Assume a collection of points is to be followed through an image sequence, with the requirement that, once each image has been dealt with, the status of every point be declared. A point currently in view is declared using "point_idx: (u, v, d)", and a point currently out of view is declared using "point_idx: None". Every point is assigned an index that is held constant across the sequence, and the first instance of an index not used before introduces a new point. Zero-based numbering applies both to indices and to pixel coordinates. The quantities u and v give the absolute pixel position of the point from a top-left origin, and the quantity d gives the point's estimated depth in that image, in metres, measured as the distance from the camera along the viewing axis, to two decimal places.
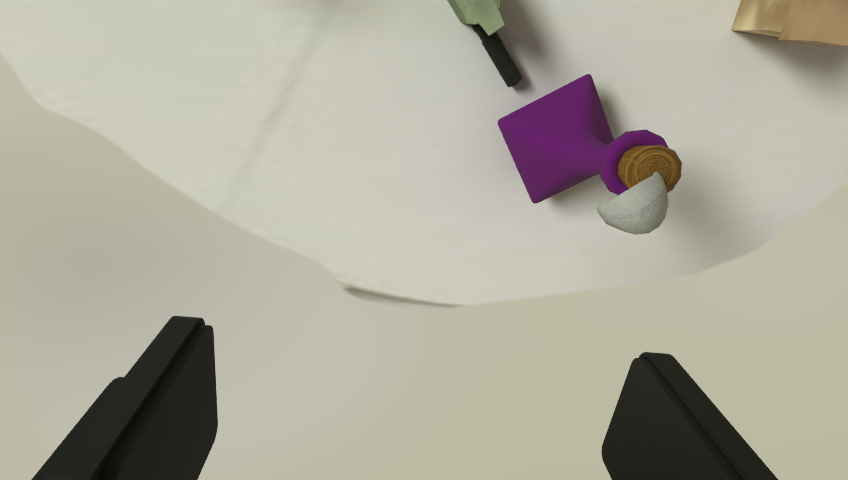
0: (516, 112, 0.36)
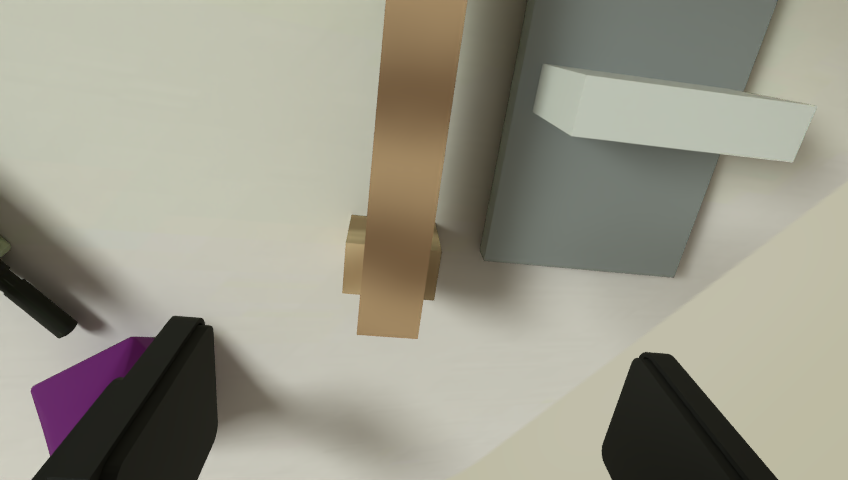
0: (48, 381, 0.28)
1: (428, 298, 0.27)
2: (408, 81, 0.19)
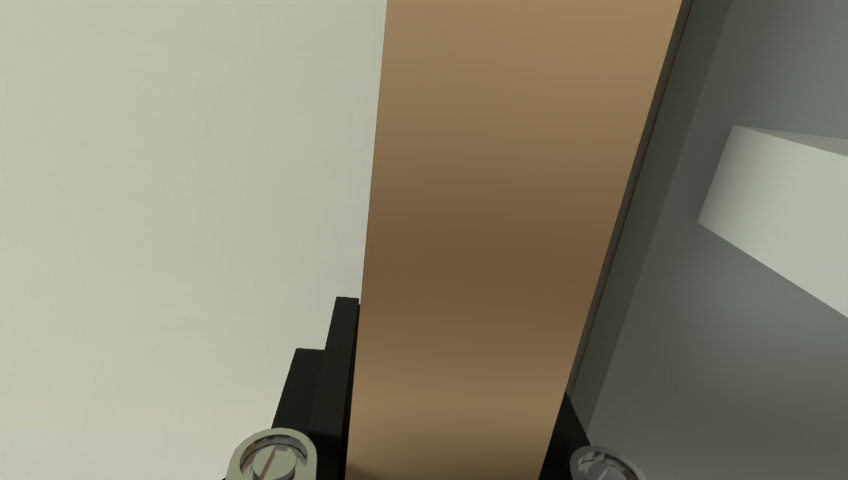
0: None
1: None
2: (461, 231, 0.06)
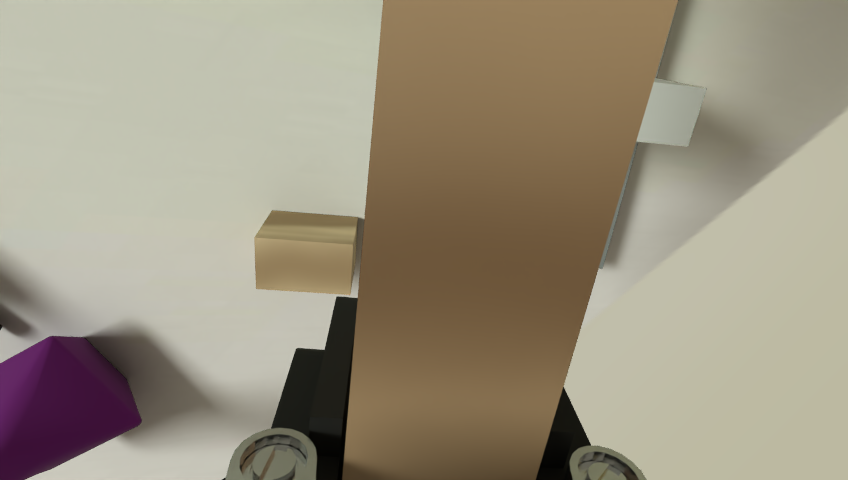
0: None
1: (344, 293, 0.27)
2: (457, 234, 0.06)
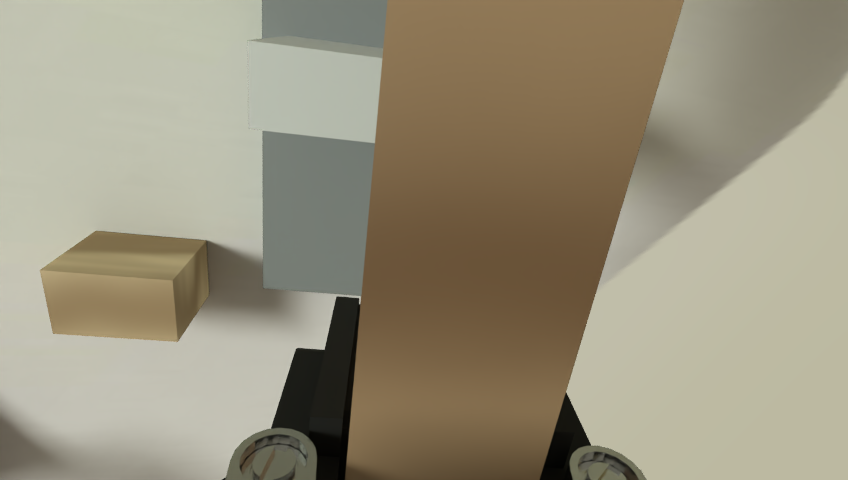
0: None
1: (171, 339, 0.21)
2: (461, 237, 0.06)
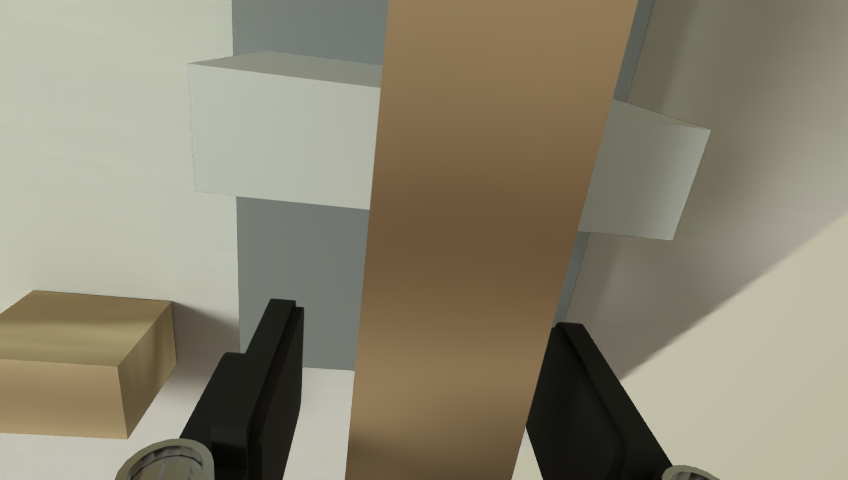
0: None
1: (119, 436, 0.16)
2: (451, 208, 0.07)
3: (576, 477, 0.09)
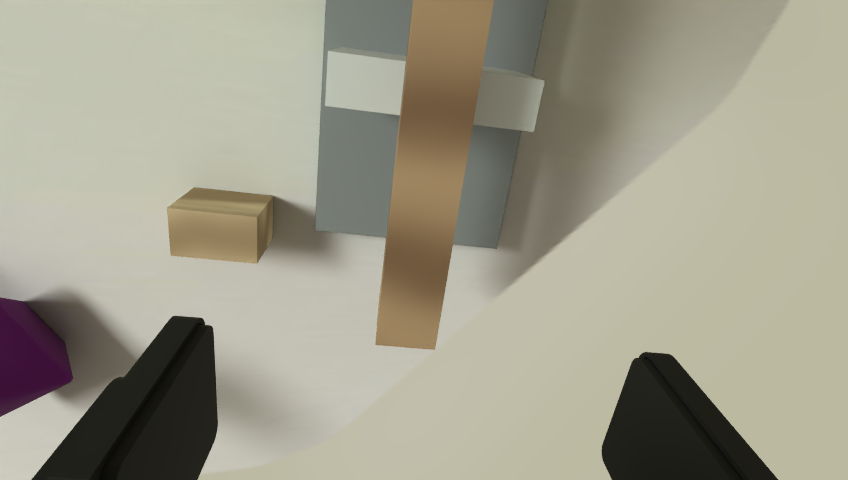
0: None
1: (252, 262, 0.29)
2: (431, 100, 0.20)
3: None
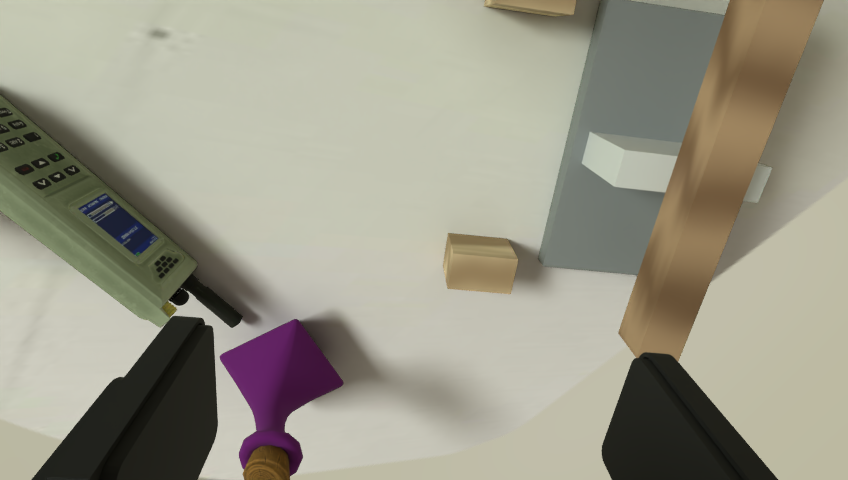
0: (234, 350, 0.40)
1: (506, 292, 0.38)
2: (716, 190, 0.29)
3: None
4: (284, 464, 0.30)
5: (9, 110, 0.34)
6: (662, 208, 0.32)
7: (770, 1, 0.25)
